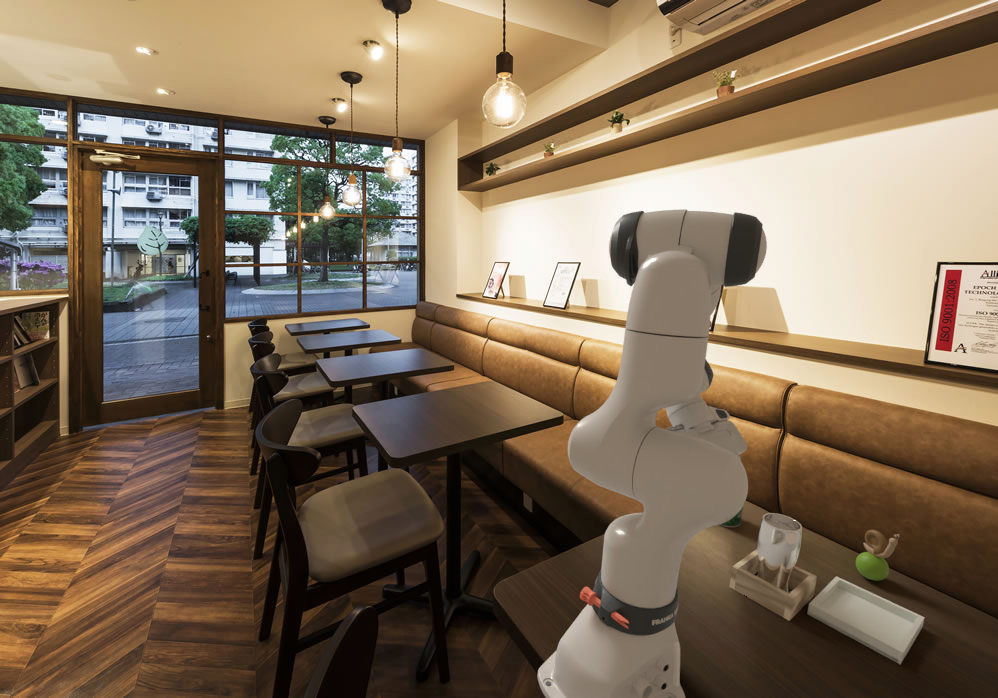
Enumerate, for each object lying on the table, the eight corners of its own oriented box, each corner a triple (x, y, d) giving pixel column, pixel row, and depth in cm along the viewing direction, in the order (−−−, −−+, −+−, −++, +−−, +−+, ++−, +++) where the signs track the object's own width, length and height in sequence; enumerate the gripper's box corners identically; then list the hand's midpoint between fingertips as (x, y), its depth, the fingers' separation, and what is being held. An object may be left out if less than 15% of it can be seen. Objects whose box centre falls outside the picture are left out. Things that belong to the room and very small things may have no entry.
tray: (900, 664, 77) (903, 652, 76) (807, 614, 87) (809, 603, 87) (922, 628, 85) (924, 617, 84) (834, 586, 95) (836, 576, 95)
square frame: (789, 620, 85) (793, 598, 85) (729, 586, 94) (732, 566, 93) (813, 596, 92) (817, 576, 91) (755, 567, 101) (758, 547, 100)
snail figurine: (876, 591, 94) (887, 536, 92) (847, 570, 101) (856, 518, 98) (898, 588, 96) (909, 534, 93) (867, 568, 102) (878, 516, 100)
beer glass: (780, 582, 96) (792, 513, 93) (798, 606, 89) (811, 533, 87) (745, 578, 97) (755, 510, 94) (760, 602, 90) (771, 530, 87)
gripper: (670, 421, 99) (705, 484, 93) (731, 410, 109) (767, 466, 103) (651, 434, 104) (683, 495, 97) (712, 422, 114) (745, 477, 107)
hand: (727, 480), depth 100 cm, fingers open, 8 cm apart
